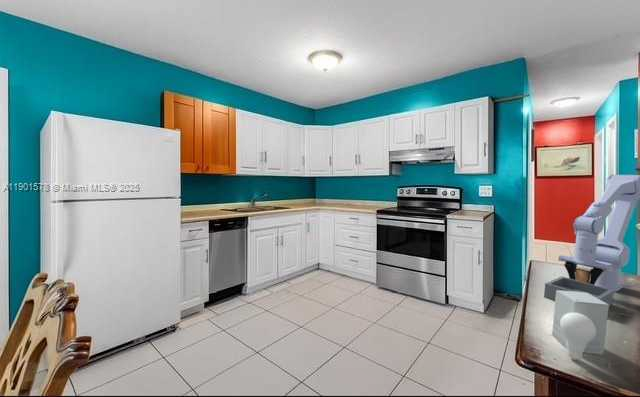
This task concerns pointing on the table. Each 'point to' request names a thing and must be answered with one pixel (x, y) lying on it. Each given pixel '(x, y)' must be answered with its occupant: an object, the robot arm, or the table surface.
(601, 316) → the supplement box
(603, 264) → the robot arm
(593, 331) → the lightbulb
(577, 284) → the box
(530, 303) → the table surface
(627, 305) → the table surface
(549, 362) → the table surface
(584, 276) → the peg
